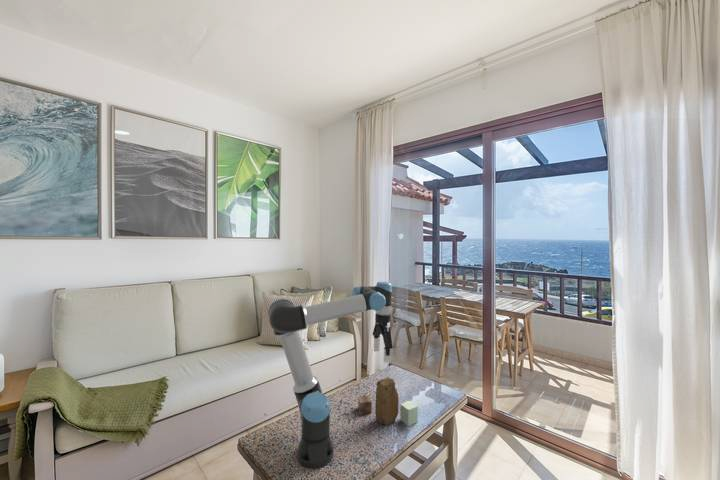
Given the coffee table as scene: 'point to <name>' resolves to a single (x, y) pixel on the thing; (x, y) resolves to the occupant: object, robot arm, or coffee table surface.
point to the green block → (408, 413)
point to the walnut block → (364, 404)
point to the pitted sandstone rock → (386, 401)
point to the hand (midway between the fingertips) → (381, 356)
